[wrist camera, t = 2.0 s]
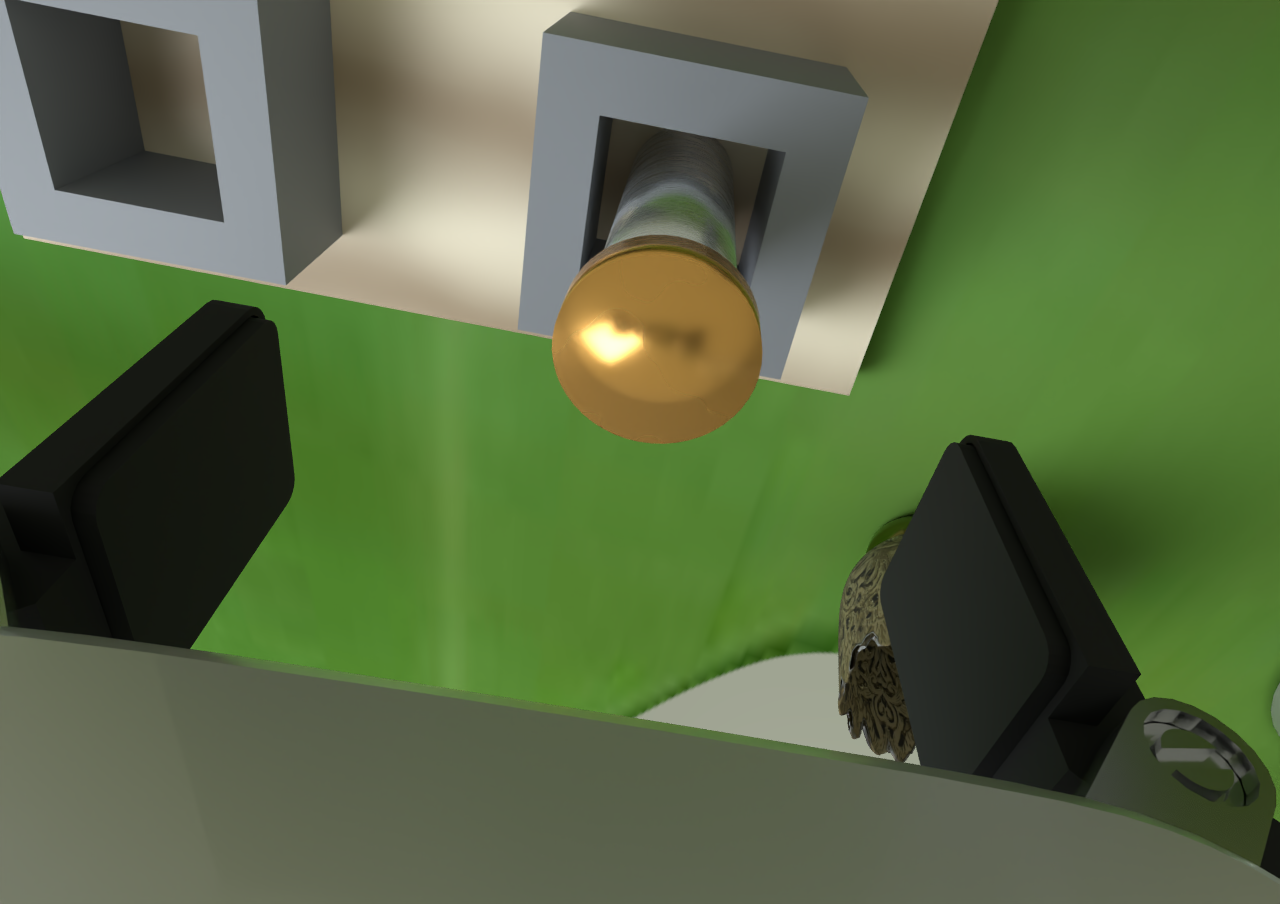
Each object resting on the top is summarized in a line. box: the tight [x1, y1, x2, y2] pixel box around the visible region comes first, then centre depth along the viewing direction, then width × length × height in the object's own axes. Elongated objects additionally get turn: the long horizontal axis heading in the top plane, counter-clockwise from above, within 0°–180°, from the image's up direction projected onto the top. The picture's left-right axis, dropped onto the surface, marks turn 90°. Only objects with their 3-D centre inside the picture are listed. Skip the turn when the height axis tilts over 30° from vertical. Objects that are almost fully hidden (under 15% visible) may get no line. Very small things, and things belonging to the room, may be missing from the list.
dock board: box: [23, 0, 998, 395], centre depth 24 cm, size 12×28×2 cm, turn 80°
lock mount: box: [518, 12, 869, 380], centre depth 22 cm, size 8×8×4 cm
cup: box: [838, 516, 916, 762], centre depth 29 cm, size 8×7×8 cm
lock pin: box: [552, 129, 763, 444], centre depth 19 cm, size 4×4×11 cm
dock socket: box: [0, 0, 343, 285], centre depth 21 cm, size 8×8×4 cm
